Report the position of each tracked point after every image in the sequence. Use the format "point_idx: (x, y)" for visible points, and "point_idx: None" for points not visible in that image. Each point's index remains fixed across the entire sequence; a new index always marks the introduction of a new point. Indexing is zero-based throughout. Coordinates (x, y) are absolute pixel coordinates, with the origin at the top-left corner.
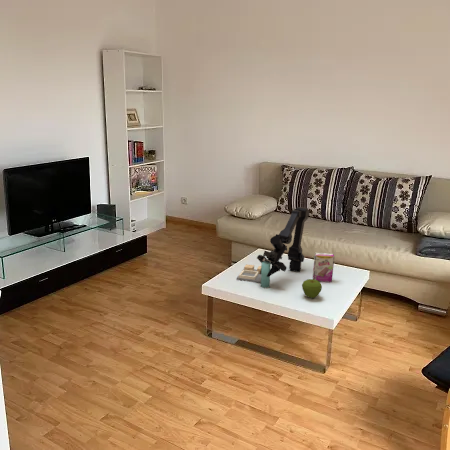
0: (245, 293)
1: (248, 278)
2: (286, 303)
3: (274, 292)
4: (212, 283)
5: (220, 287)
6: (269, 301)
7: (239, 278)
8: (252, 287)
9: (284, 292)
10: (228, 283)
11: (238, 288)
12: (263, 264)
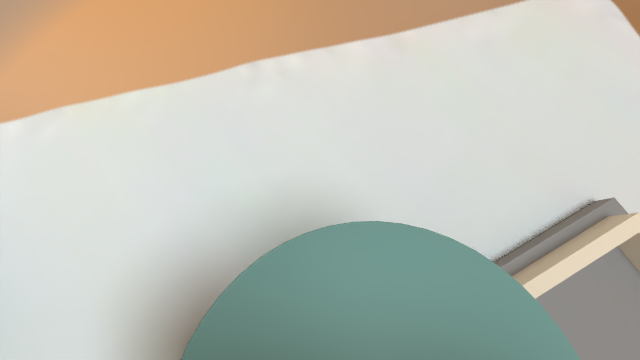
0: (339, 75)
1: (537, 262)
2: (33, 156)
3: (198, 240)
4: (611, 30)
5: (520, 26)
6: (144, 99)
7: (590, 211)
8: (385, 183)
9: (131, 307)
10: (555, 105)
11: (435, 96)
12: (351, 224)
